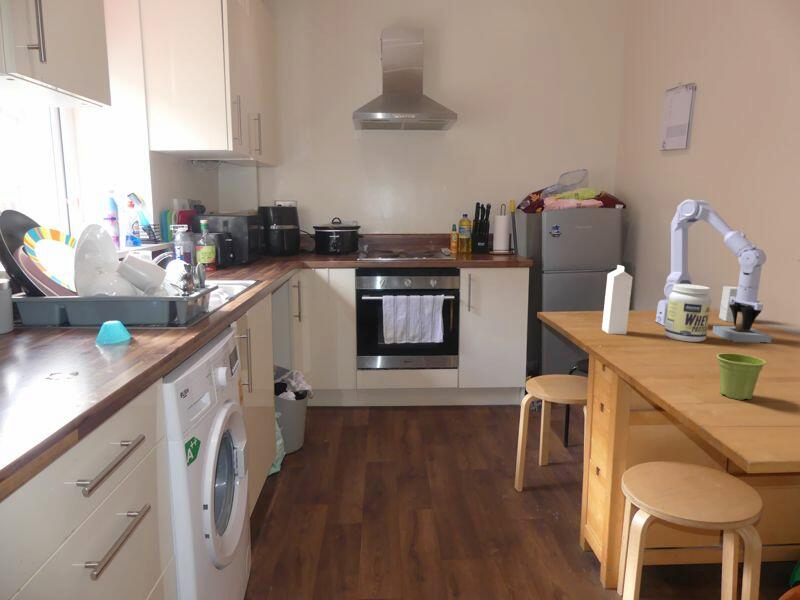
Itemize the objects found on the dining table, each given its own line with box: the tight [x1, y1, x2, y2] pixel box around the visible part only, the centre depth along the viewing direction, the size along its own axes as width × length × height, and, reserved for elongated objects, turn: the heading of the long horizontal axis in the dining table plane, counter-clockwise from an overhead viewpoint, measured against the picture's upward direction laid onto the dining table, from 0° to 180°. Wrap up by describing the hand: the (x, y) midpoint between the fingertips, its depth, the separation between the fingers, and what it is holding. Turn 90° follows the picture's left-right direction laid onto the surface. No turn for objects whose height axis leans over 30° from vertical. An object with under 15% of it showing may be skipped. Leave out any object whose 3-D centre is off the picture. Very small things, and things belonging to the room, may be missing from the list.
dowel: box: [734, 312, 749, 333], centre depth 184 cm, size 4×4×7 cm
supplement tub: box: [663, 284, 712, 343], centre depth 181 cm, size 12×12×17 cm
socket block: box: [712, 325, 773, 344], centre depth 185 cm, size 12×12×2 cm
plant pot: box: [716, 352, 767, 401], centre depth 126 cm, size 9×9×9 cm
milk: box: [601, 264, 634, 335], centre depth 185 cm, size 6×6×22 cm
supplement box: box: [718, 285, 738, 323], centre depth 214 cm, size 7×7×13 cm
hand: (742, 327), depth 185 cm, fingers closed on dowel, 4 cm apart
